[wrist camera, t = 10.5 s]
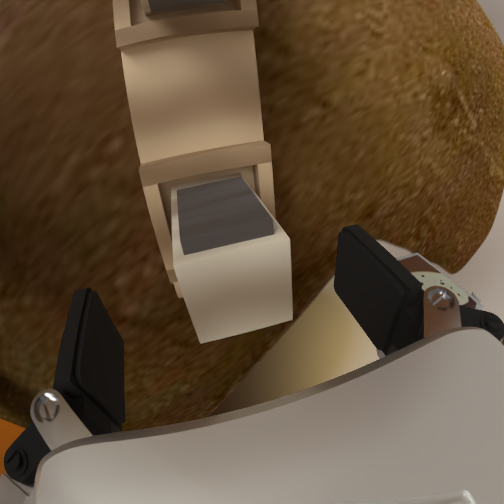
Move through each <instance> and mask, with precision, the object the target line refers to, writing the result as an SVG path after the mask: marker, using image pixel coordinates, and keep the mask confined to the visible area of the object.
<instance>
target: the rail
mask: <svg viewBox="0 0 504 504" xmlns="http://www.w3.org/2000/svg"><path fill="white" fill-rule="evenodd" d="M113 13H114V25H115V35H116V45H117V48H118V49H119V50H121V55H122V63H123V70H124V77H125V84H126V90H127V96H128V102H129V108H130V113H131V119H132V124H133V129H134V134H135V139H136V144H137V149H138V154H139V158H140V163H141V165H140V167H139V174H140V178H141V182H142V186H143V190H144V194H145V198H146V202H147V206H148V210H149V213H150V217H151V221H152V224H153V228H154V231H155V235H156V238H157V242H158V245H159V248H160V252H161V255H162V258H163V261H164V265H165V268H166V271H167V274H168V277H169V280H170V283H174V286H175V289H176V292H177V295H178V298H181V297H183V294H182V291H181V288H180V285H179V282H178V279H177V276H176V273H175V270H174V267H173V248H172V216H171V187H173V186H178V185H182V184H186V183H191V182H195V181H200V180H204V179H209V178H214V177H218V176H223V175H228V174H233V173H239V172H240V173H241V175H242V176H243V177H244V179H245V180H246V181H247V182H248V184H249V185H250V186H251V188H252V189H253V190H254V192H255V193H256V194H257V196H258V197H259V198H260V199H261V201H262V202H263V203H264V205H265V206H266V207H267V209H268V210H269V211H270V213H271V214H272V215H273V217H274V218H275V219H276V216H275V201H274V186H273V172H272V159H271V146H270V144H269V143H267V142H265V141H264V136H263V125H262V114H261V103H260V93H259V83H258V73H257V63H256V53H255V44H254V35H253V30H254V29H256V28H257V27H259V21H258V12H257V3H256V0H113Z"/></svg>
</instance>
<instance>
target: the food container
mask: <svg viewBox="0 0 504 504" xmlns="http://www.w3.org/2000/svg"><path fill="white" fill-rule="evenodd" d="M397 260H398V261H399V262H400V263H401V264H402V265H403V266H404V267H405V268H406V269H407V270H408V271H409V272H410V273H411V274H412V275H413V276H415V277H416V278H417V279H418V280H419V281H420V282H421V283H422V284H423V285H422V289H423V290H424V291H425V290H426V289H427V288H429V287H431V286H442V287H445V288H447V289H449V290H450V291H452V292H453V293H454V294H455V296H456V297H457V299H458V302H459V305H461V306H466V307H470V308H474V309H478V310H482V308H483V305H482V304H481V303H480V302H481V301H480V300H479V298H478V297H477V296H476V295H475V293H474V292H472V294H469V293H468V292H467V291H466V290H465V289H463V288H462V287H461V286H460V285H458V284H457V283H456V282H455V281H454V280H452V279H451V278H450V277H448V276H447V275H446V274H445V273H444V272H442V271H441V270H440V269H438V268H437V267H436V266H435V265H433V264H432V263H431V262H429V261H428V260H427V259H425V258H424V257H423V256H421V255H420V254H419V253H414V254H411V255H407V256H404V257H400V258H397ZM395 352H396V351H395ZM393 353H394V352H393ZM377 354H378V356H379V358H380V359H381V358H383V357H385V354H384V353H383V352H382V350H381V351H380V350H378V349H377ZM391 354H392V353H391ZM389 355H390V354H389ZM387 356H388V355H387Z"/></svg>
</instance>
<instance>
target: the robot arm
mask: <svg viewBox="0 0 504 504" xmlns="http://www.w3.org/2000/svg"><path fill="white" fill-rule="evenodd" d="M422 285H423V284H422V283H421V282H420V281H419V280H418V279H417V278H416V277H415V276H413V275H412V274H411V273H410V272H409V271H408V270H407V269H406V268H405V267H404V266H403V265H402V264H401V263H400V262H399V261H398V260H397V259H396V258H395V257H393V256H392V255H391V254H390V253H389V252H388V251H387V250H386V249H385V248H384V247H383V246H381V245H380V244H379V243H378V242H377V241H376V240H375V239H374V238H373V237H371V236H370V235H369V234H368V233H367V232H366V231H365V230H363V229H362V228H361V227H360V226H359V225H357V224H355V225H351V226H347V227H344V228H343V229H342V231H341V232H340V233H339V236H338V247H337V258H336V268H335V278H334V289H335V292H336V293H337V295H338V296H339V297H340V299H341V300H342V301H343V303H344V304H345V305H346V307H347V308H348V310H349V311H350V312H351V314H352V315H353V316H354V318H355V319H356V320H357V322H358V323H359V325H360V326H361V327H362V329H363V330H364V331H365V333H366V334H367V336H368V337H369V338H370V340H371V341H372V342H373V344H374V345H375V347H376V348H377V349H378V350H380V351H381V350H382V352H383V353H384V354H385V357H383V358H381V359H379V360H377V361H374V362H372V363H370V364H368V365H366V366H363V367H361V368H359V369H356V370H354V371H352V372H349V373H347V374H345V375H342V376H339V377H337V378H334V379H332V380H329V381H326V382H324V383H321V384H318V385H316V386H313V387H310V388H307V389H305V390H302V391H299V392H296V393H293V394H290V395H287V396H284V397H281V398H278V399H275V400H271V401H268V402H265V403H262V404H258V405H254V406H251V407H247V408H243V409H240V410H236V411H232V412H228V413H224V414H220V415H216V416H211V417H207V418H202V419H197V420H193V421H188V422H182V423H177V424H171V425H166V426H159V427H153V428H147V429H140V430H133V431H126V432H119V431H122V423H124V422H125V402H124V343H123V340H122V338H121V336H120V334H119V333H118V331H117V329H116V327H115V326H114V324H113V322H112V320H111V319H110V317H109V315H108V313H107V311H106V309H105V308H104V306H103V304H102V302H101V300H100V298H99V296H98V294H97V293H96V291H92V290H91V289H90V288H85V289H81V290H77V291H75V292H74V295H73V299H72V302H71V306H70V310H69V314H68V318H67V322H66V326H65V331H64V333H63V336H62V341H61V346H60V351H59V356H58V361H57V367H56V373H55V379H54V386H53V389H46V390H43V391H41V392H40V393H38V394H37V395H36V397H35V398H34V400H33V402H32V404H31V409H30V412H31V417H32V420H33V422H32V423H31V424H30V425H29V426H28V427H27V428H26V429H25V430H24V431H23V432H22V434H21V435H20V436H19V437H18V438H17V439H16V440H15V441H14V442H13V444H12V445H11V446H10V447H9V448H8V450H7V451H6V454H5V457H4V466H5V470H6V472H7V473H6V475H5V474H3V473H2V475H1V478H0V504H504V324H503V322H502V320H501V319H500V318H498V316H496V315H494V314H493V313H490V312H486V311H482V310H478V309H474V308H470V307H466V306H461V305H459V302H458V299H457V297H456V296H455V294H454V293H453V292H452V291H450V290H449V289H447V288H445V287H442V286H431V287H429V288H427V289H426V290H425V291H424V290H423V289H422ZM395 351H396V352H395ZM393 352H394V353H393ZM391 353H392V354H391ZM389 354H390V355H389ZM387 355H388V356H387ZM112 432H117V433H112Z"/></svg>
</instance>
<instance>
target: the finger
mask: <svg viewBox="0 0 504 504" xmlns="http://www.w3.org/2000/svg"><path fill="white" fill-rule="evenodd" d="M171 216H172V248H173V267H174V270H175V273H176V276H177V279H178V282H179V285H180V288H181V291H182V294H183V297H184V300H185V303H186V306H187V308H188V311H189V314H190V317H191V320H192V322H193V325H194V328H195V331H196V333H197V336H198V339H199V341H200V344H201V343H205V342H210V341H214V340H218V339H222V338H226V337H230V336H234V335H238V334H242V333H246V332H250V331H254V330H257V329H261V328H265V327H268V326H272V325H276V324H279V323H283V322H286V321H289V320H293V307H292V275H291V250H290V238H289V237H288V236H287V234H286V233H285V231H284V230H283V229H282V227H281V226H280V225H279V223H278V222H277V221H276V219H275V218H274V217H273V215H272V214H271V213H270V211H269V210H268V209H267V207H266V206H265V205H264V203H263V202H262V201H261V199H260V198H259V197H258V196H257V194H256V193H255V192H254V190H253V189H252V188H251V186H250V185H249V184H248V182H247V181H246V180H245V179H244V177H243V176H242V175H241V173H240V172H239V173H233V174H228V175H223V176H218V177H214V178H209V179H204V180H200V181H195V182H191V183H186V184H182V185H178V186H173V187H171Z"/></svg>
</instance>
